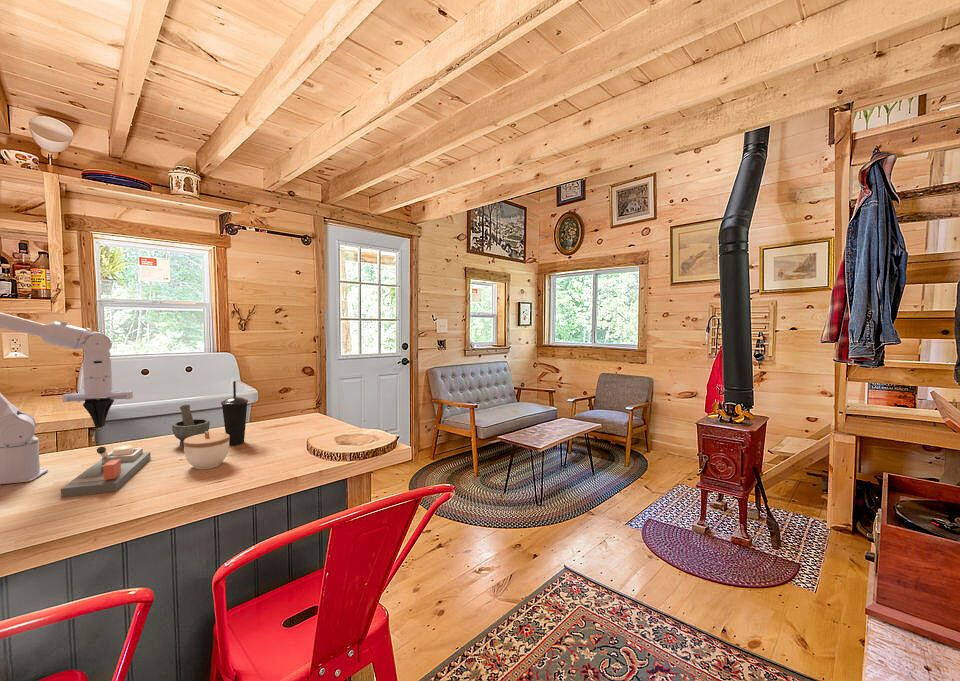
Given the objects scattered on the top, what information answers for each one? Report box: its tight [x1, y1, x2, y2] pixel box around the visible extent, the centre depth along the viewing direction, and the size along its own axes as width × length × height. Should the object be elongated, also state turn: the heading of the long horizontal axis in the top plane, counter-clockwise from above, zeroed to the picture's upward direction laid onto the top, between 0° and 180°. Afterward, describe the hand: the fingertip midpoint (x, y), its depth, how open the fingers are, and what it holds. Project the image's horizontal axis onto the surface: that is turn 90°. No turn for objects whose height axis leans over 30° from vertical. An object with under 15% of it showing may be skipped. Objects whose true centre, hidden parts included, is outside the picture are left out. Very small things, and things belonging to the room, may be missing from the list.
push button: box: [111, 445, 134, 456], centre depth 118 cm, size 4×4×2 cm
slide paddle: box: [103, 459, 121, 480], centre depth 104 cm, size 2×4×3 cm, turn 22°
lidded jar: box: [183, 430, 230, 470], centre depth 119 cm, size 11×11×9 cm
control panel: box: [60, 447, 152, 498], centre depth 111 cm, size 10×24×4 cm, turn 22°
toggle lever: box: [96, 446, 111, 461], centre depth 110 cm, size 2×2×4 cm
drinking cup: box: [220, 380, 249, 446], centre depth 139 cm, size 8×8×20 cm
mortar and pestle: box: [171, 404, 211, 448], centre depth 138 cm, size 11×9×12 cm
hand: (99, 426), depth 118 cm, fingers closed
